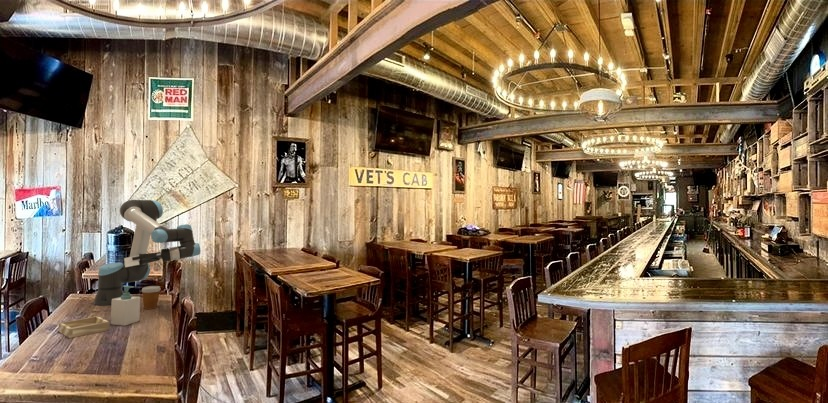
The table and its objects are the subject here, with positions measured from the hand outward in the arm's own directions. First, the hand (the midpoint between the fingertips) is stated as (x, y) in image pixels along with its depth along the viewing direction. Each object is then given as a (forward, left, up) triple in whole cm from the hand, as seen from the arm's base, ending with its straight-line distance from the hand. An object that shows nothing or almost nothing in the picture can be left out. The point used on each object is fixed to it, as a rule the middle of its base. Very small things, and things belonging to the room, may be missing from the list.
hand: (124, 262), depth 212 cm
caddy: (+13, -20, -29) cm, 38 cm away
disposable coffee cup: (-8, +17, -29) cm, 35 cm away
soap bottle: (+13, -3, -29) cm, 32 cm away
